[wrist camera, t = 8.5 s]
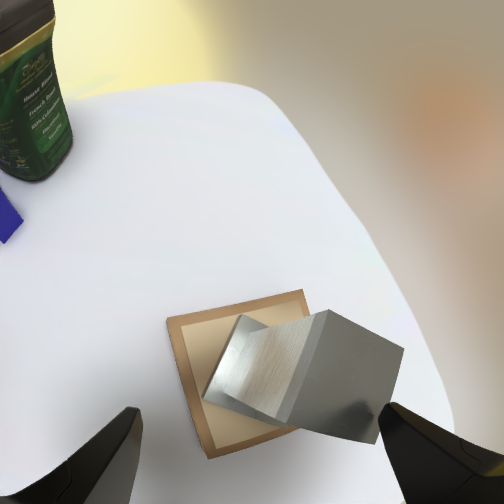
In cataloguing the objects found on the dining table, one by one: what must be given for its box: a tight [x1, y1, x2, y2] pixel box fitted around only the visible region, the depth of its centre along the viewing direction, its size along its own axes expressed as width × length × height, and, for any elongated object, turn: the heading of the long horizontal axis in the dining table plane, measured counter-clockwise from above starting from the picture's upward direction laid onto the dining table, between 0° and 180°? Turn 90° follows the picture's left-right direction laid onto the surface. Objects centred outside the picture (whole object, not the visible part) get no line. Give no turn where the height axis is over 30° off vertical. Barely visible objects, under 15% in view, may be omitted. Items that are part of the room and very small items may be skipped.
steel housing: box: [201, 309, 404, 445], centre depth 14 cm, size 6×6×11 cm
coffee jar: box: [0, 0, 73, 180], centre depth 14 cm, size 10×8×19 cm
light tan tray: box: [166, 289, 310, 459], centre depth 21 cm, size 11×11×3 cm
